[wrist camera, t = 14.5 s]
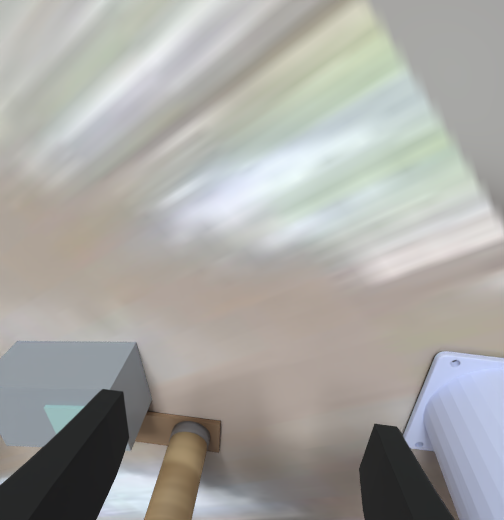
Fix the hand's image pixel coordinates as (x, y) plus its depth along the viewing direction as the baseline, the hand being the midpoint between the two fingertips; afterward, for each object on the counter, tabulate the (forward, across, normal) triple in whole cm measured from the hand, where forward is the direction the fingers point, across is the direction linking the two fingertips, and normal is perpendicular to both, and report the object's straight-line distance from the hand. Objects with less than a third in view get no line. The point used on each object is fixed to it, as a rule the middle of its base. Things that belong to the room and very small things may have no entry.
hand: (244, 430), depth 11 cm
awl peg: (+10, +4, +14) cm, 17 cm away
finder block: (+10, +11, +9) cm, 18 cm away
